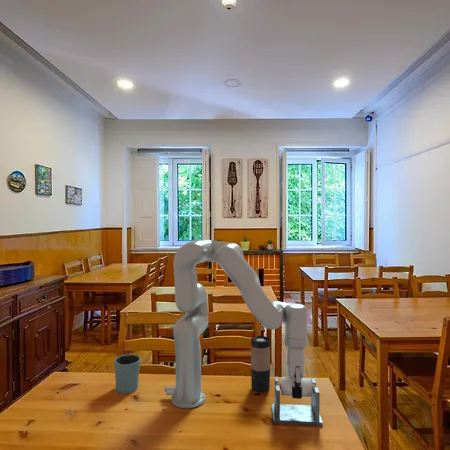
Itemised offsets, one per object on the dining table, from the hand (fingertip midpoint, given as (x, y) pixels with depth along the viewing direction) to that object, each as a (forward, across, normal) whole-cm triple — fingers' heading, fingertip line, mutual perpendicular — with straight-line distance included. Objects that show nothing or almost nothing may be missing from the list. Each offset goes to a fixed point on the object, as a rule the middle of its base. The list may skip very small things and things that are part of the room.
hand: (295, 392), depth 116 cm
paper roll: (+1, 0, 0) cm, 1 cm away
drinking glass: (+8, -13, -65) cm, 67 cm away
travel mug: (+8, -18, -12) cm, 23 cm away
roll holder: (+8, 0, 0) cm, 8 cm away
